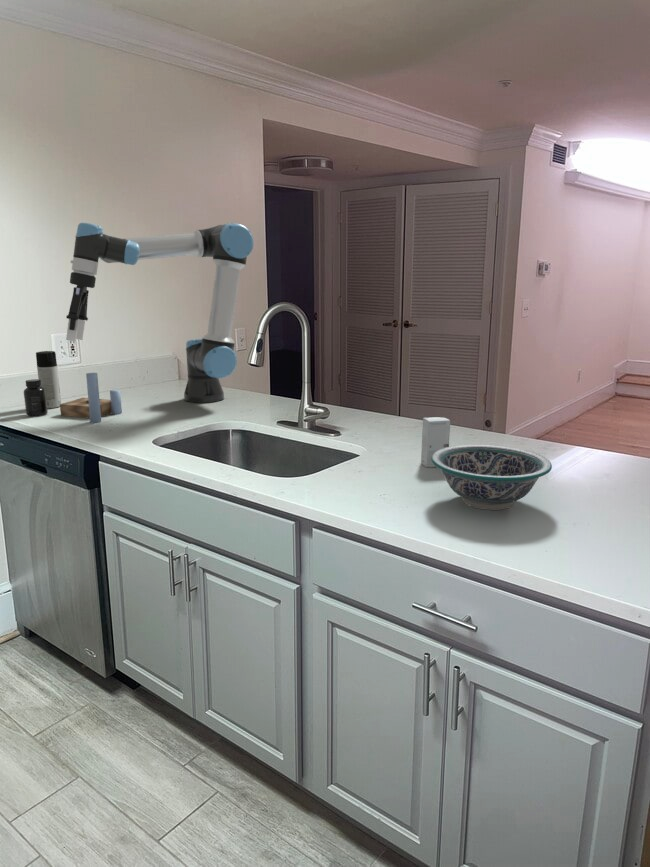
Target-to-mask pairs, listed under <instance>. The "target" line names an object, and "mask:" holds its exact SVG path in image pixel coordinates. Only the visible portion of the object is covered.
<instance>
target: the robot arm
mask: <svg viewBox="0 0 650 867" xmlns="http://www.w3.org/2000/svg"><path fill="white" fill-rule="evenodd" d="M103 230H104V229H103V227H102V226H100V225H96V224H93V223H88V222H80V223H79V224H78V225H77V229H76V234H75V240H74V248H73V258H72V260H70V264H72V265H71V271H72V272H70V278H69V283H70V285H75V286H74V287H73V291H72V298H71V300H70V306H69V310H68V311H69V312H68V314H66V319H68V323H67V330H66V331H67V332H66V338H65V340H66V341H71V342H76V340H80V341H83V339H84V333H85V332H84V331H85V324H86V321H87V322H88V320H89V317H88V303H89V302H88V301H89V293H90V291H89V290H88V288H90V289H94V288H95V287H96V282H97V280H96V275H98V267H99V259H100V260H101V261H102V262H105V263H107V264H113V263H121V264H124V265H131V266H134V265H136V264H137V263H138V261H142V260H152V259H165V258H175V257H176V258H177V257H185V256H187V257H188V256H189V257H190V256H196V257H198V258H212V261H213V263H214V264H215V266H216V267H215V275H214V281H213V289H212V295H211V304H210V312H209V319H208V327H207V332H206V334H205V335H203V336H202V338H198V339H189V340H187V341H186V347H185V352H186V368H187V382H186V386H185V388H184V392H183V393H184V394H183V397H184V398H183V400H184V401H185V402H189V403H201V404H202V403H213V402H214V403H215V402H219V401H223V400H224V399H225V392H224V389H223V386H222V383H221V381H220V379H224V378H227V377H229V376H230V375H232V373H233V372H235V369H236V367H237V362H238V359H237V354H236V353H235V344H236V342H235V341H234V339H233V338H232V335H233V326H234V320H235V313H236V304H237V298H238V291H239V283H240V279H241V278H240V276H241V271H242V270H243V268H245V267H246V265H247V257H248V256H250V254H251V253H252V251H253V249H254V238H253V235H252V233H251V232H250V230H249V228H248V227H246V226H245V225H243V224H240V223H237V222H236V223H235V222H234V223H233V222H229V223H227V224H226V223H225V224H218V225H216V226H211V227H208V228H203V229H196V230H194V231H193V233H192V232H191V233H178V234H166V235H155V236H151V235H150V236H139V237H127V238H120V237H116V236H111V235H108V234H105V233H104V232H103Z"/></svg>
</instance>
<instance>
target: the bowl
mask: <svg viewBox="0 0 650 867" xmlns="http://www.w3.org/2000/svg"><path fill="white" fill-rule="evenodd" d="M431 460H432V463H433V464H434V465H435V466H436V467H437V468H438V469H440V470H441V471H442V473H443V476H444V478H445V480H446V483H447V484H448V486H449V487H450V489H451V490H452V491H453V492H454V493H455V494H456V495H458V496H460V497H462V502H463V503H464V504H466V505H467V506H469V507H472V508H475V509H480V510H486V511H489V510H490V511H501V510H506V509H510V508H511V507H512V506H513V505H514V502H517V501H519V500H522V499H523V498H524V497H526V496H527V495H528V494H529V493H530V492H531V490H532V489H533V487H534V485H536V482H537V481H538V480H539V478H541V477H543V476H545V475H548V474H549V473H550V472H551V471H552V468H553V465H552V463H551V461H550V460H549V459H548V458H546V457H545V456H543V455H541V454H538V453H536V452H534V451H530V450H527V449H522V448H517V447H513V446H506V445H505V446H504V445H498V444H497V445H496V444H482V443H481V444H477V443H475V444H459V445H453V446H452V445H451V446H449V447H447V448H443V449H440V450H438V451H436V452H435V453H434V454H433V455H432V457H431Z"/></svg>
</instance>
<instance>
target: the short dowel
mask: <svg viewBox="0 0 650 867" xmlns="http://www.w3.org/2000/svg"><path fill="white" fill-rule="evenodd" d="M121 395H122V394H121V389H112V390H109V396H110V397H109V398H110V400H111V410H112V413H111V415H115V414H116V415H121V413H122V414H123V409H122V408H123V407H122V396H121Z"/></svg>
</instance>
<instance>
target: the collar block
mask: <svg viewBox="0 0 650 867" xmlns="http://www.w3.org/2000/svg"><path fill="white" fill-rule="evenodd" d="M99 399H100V411H101V416H102V417H104V415H105V416H107V414H108V415H109V414H112V410H111V399H107V398H106V399H105V398H99ZM59 409H60V411H59V412H60V416H61V417H71V416H73V418H83V417H88V418H87V419H90V411H89V400H88V397H81V398H76V399H73V400H70V401H66V402H63V403H62V402H61V404H60V407H59Z"/></svg>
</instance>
